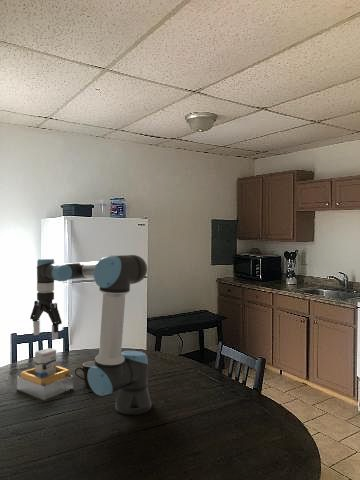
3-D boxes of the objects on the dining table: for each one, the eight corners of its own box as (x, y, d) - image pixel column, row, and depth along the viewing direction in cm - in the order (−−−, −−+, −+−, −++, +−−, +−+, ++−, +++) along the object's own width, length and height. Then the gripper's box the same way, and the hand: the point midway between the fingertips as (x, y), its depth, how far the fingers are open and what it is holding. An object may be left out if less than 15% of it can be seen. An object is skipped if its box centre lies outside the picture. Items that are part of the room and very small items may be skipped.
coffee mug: (103, 381, 195) (103, 361, 195) (97, 388, 186) (98, 367, 186) (80, 380, 196) (80, 360, 196) (73, 387, 187) (74, 366, 187)
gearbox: (73, 388, 186) (73, 370, 186) (43, 400, 173) (43, 380, 172) (41, 377, 199) (41, 360, 199) (12, 387, 186) (12, 369, 186)
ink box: (41, 379, 180) (41, 353, 179) (34, 377, 182) (34, 351, 182) (56, 374, 187) (56, 349, 186) (49, 372, 189) (50, 347, 189)
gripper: (69, 293, 180) (69, 339, 180) (36, 288, 194) (36, 331, 195) (56, 295, 174) (55, 343, 174) (22, 290, 188) (22, 334, 188)
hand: (45, 337), depth 184 cm, fingers open, 13 cm apart
